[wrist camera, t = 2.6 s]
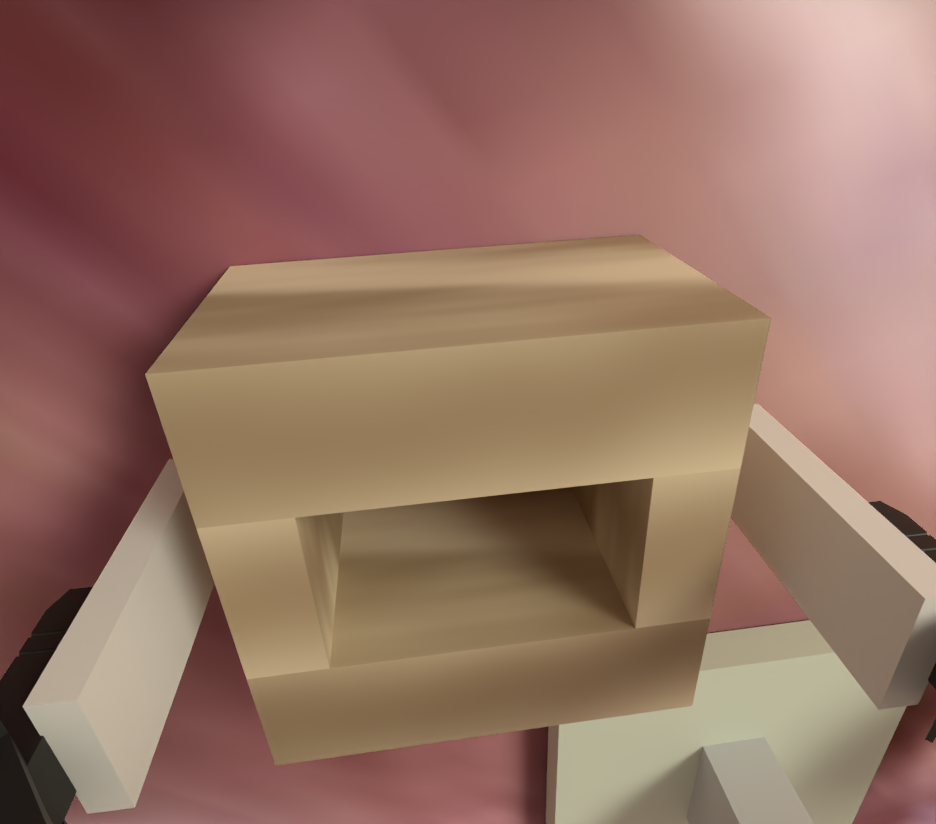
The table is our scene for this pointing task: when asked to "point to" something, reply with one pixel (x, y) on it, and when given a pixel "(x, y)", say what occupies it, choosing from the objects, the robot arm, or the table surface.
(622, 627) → the collar
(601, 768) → the base
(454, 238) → the table surface
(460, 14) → the table surface
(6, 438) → the table surface
